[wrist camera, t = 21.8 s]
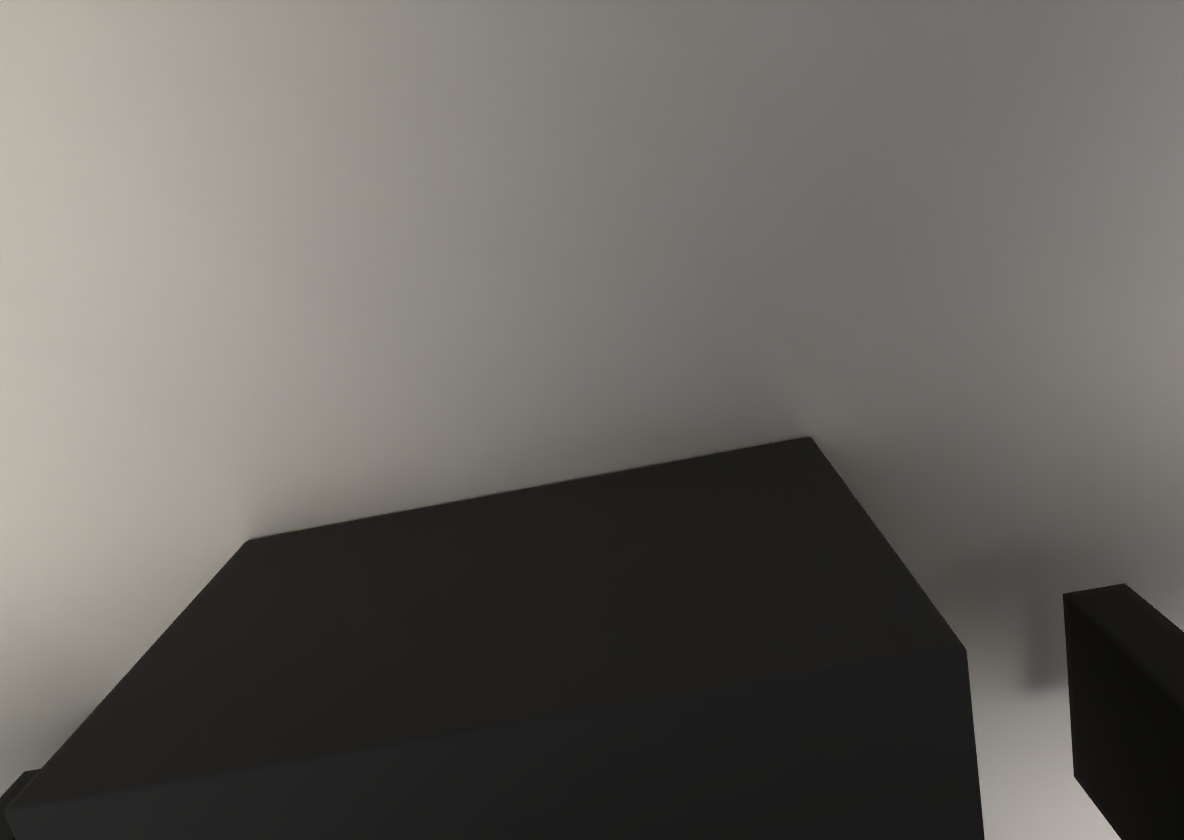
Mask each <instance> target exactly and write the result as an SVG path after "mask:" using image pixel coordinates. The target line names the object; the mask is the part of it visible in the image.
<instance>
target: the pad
mask: <svg viewBox="0 0 1184 840" xmlns="http://www.w3.org/2000/svg"><path fill="white" fill-rule="evenodd" d="M5 817H6V820H7V822H8V824H9V826H10V828H11V831H12V833H13V835H14V837H15V839H16V840H985V839H984V828H983V818H982V807H981V797H980V787H979V776H978V766H977V755H976V745H975V734H974V724H973V713H972V703H971V692H970V682H969V671H968V661H967V651H966V649H965V647H964V645H963V644H962V643H961V641H960V640H959V639H958V637H957V636H956V634H955V633H954V632H953V630H952V629H951V628H950V626H949V625H948V624H947V622H946V621H945V619H944V618H943V617H942V615H941V614H940V613H939V611H938V610H937V609H936V607H935V606H934V604H933V603H932V602H931V600H930V599H929V598H928V596H927V595H926V594H925V592H924V591H923V589H922V588H921V587H920V585H919V584H918V583H917V581H916V580H915V579H914V577H913V576H912V574H911V573H910V572H909V570H908V569H907V568H906V566H905V565H904V564H903V562H902V561H901V559H900V558H899V557H898V555H897V554H896V553H895V551H894V550H893V548H892V547H891V546H890V544H889V543H888V542H887V540H886V539H885V538H884V536H883V535H882V533H881V532H880V531H879V529H878V528H877V527H876V525H875V524H874V523H873V521H872V520H871V518H870V517H869V516H868V514H867V513H866V512H865V510H864V509H863V508H862V506H861V505H860V503H859V502H858V501H857V499H856V498H855V497H854V495H853V494H852V493H851V491H850V490H849V488H848V487H847V486H846V484H845V483H844V482H843V480H842V479H841V477H840V476H839V475H838V473H837V472H836V471H835V469H834V468H833V467H832V465H831V464H830V462H829V461H828V460H827V458H826V457H825V456H824V454H823V453H822V452H821V450H820V449H819V447H818V446H817V445H816V443H815V442H814V441H813V439H812V438H810V437H806V438H801V439H796V440H790V441H785V442H779V443H774V444H769V445H763V446H758V447H752V448H747V449H742V450H736V451H731V452H726V453H720V454H715V455H709V456H704V457H699V458H693V459H688V460H682V461H677V462H672V463H666V464H661V465H655V466H650V467H645V468H639V469H634V470H629V471H623V472H618V473H612V474H607V475H602V476H596V477H591V478H585V479H580V480H575V481H569V482H564V483H559V484H553V485H548V486H542V487H537V488H532V489H526V490H521V491H515V492H510V493H505V494H499V495H494V496H488V497H483V498H478V499H472V500H467V501H462V502H456V503H451V504H445V505H440V506H435V507H429V508H424V509H418V510H413V511H408V512H402V513H397V514H392V515H386V516H381V517H375V518H370V519H365V520H359V521H354V522H348V523H343V524H338V525H332V526H327V527H321V528H316V529H311V530H305V531H300V532H295V533H289V534H284V535H278V536H273V537H268V538H262V539H257V540H251V541H247V542H245V543H244V544H243V545H242V546H241V548H240V549H239V550H238V551H237V552H236V553H235V554H234V555H233V556H232V558H231V559H230V560H229V561H228V562H227V563H226V564H225V565H224V566H223V568H222V569H221V570H220V571H219V572H218V573H217V574H216V575H215V576H214V578H213V579H212V580H211V581H210V582H209V583H208V584H207V585H206V586H205V588H204V589H203V590H202V591H201V592H200V593H199V594H198V595H197V596H196V598H195V599H194V600H193V601H192V602H191V603H190V604H189V605H188V606H187V608H186V609H185V610H184V611H183V612H182V613H181V614H180V615H179V616H178V618H177V619H176V620H175V621H174V622H173V623H172V624H171V625H170V626H169V628H168V629H167V630H166V631H165V632H164V633H163V634H162V635H161V636H160V638H159V639H158V640H157V641H156V642H155V643H154V644H153V645H152V646H151V648H150V649H149V650H148V651H147V652H146V653H145V654H144V655H143V656H142V658H141V659H140V660H139V661H138V662H137V663H136V664H135V665H134V666H133V668H132V669H131V670H130V671H129V672H128V673H127V674H126V675H125V676H124V678H123V679H122V680H121V681H120V682H119V683H118V684H117V685H116V686H115V688H114V689H113V690H112V691H111V692H110V693H109V694H108V695H107V696H106V698H105V699H104V700H103V701H102V702H101V703H100V704H99V705H98V706H97V708H96V709H95V710H94V711H93V712H92V713H91V714H90V715H89V716H88V718H87V719H86V720H85V721H84V722H83V723H82V724H81V725H80V726H79V728H78V729H77V730H76V731H75V732H74V733H73V734H72V735H71V736H70V738H69V739H68V740H67V741H66V742H65V743H64V744H63V745H62V746H61V748H60V749H59V750H58V751H57V752H56V753H55V754H54V755H53V756H52V758H51V759H50V760H49V761H48V762H47V763H46V764H45V765H44V766H43V768H42V769H41V770H40V771H39V772H38V773H37V774H36V775H35V776H34V778H33V779H32V780H31V781H30V782H29V783H28V784H27V785H26V786H25V788H24V789H23V790H22V791H21V792H20V793H19V794H18V795H17V796H16V798H15V799H14V800H13V801H12V802H11V803H10V804H9V805H8V806H7V808H6V809H5Z"/></svg>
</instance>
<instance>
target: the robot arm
mask: <svg viewBox="0 0 1184 840" xmlns="http://www.w3.org/2000/svg"><path fill="white" fill-rule="evenodd" d="M1063 604H1064V621H1065V637H1066V653H1067V670H1068V686H1069V702H1070V719H1071V735H1072V752H1073V768H1074V777H1075V778H1076V780H1077V781H1078V782H1079V784H1080V785H1081V786H1082V788H1083V789H1084V790H1085V792H1086V793H1087V794H1088V796H1089V797H1090V798H1091V800H1092V801H1093V802H1094V804H1095V805H1096V806H1097V808H1098V809H1099V810H1100V812H1101V813H1102V814H1103V816H1104V817H1105V818H1106V820H1107V821H1108V822H1109V824H1110V825H1111V826H1112V828H1113V829H1114V830H1115V832H1116V833H1117V834H1118V836H1119V837H1120V838H1121V839H1122V840H1184V632H1183V631H1182V630H1180V629H1179V628H1178V627H1177V626H1176V625H1174V624H1173V623H1172V622H1171V621H1170V620H1168V619H1167V618H1166V617H1165V616H1164V615H1162V614H1161V613H1160V612H1159V611H1158V610H1156V609H1155V608H1154V607H1153V606H1152V605H1150V604H1149V603H1148V602H1147V601H1146V600H1144V599H1143V598H1142V597H1141V596H1139V595H1138V594H1137V593H1136V592H1135V591H1133V590H1132V589H1131V588H1130V587H1129V586H1127V585H1126V584H1125V583H1124V584H1118V585H1112V586H1106V587H1100V588H1095V589H1089V590H1083V591H1077V592H1071V593H1065V594H1063ZM40 770H41V769H37V770H31V771H26V772H24V773H23V774H22V775H21V776H20V777H19V778H18V779H17V780H16V781H15V782H14V783H13V784H12V786H11V787H10V788H9V789H8V790H7V791H6V792H5V793H4V794H3V795H2V796H1V797H0V840H16V839H15V837H14V835H13V833H12V831H11V828H10V826H9V824H8V822H7V820H6V817H5V809H6V808H7V806H8V805H9V804H10V803H11V802H12V801H13V800H14V799H15V798H16V796H17V795H18V794H19V793H20V792H21V791H22V790H23V789H24V788H25V786H26V785H27V784H28V783H29V782H30V781H31V780H32V779H33V778H34V776H35V775H36V774H37V773H38V772H39V771H40Z"/></svg>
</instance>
